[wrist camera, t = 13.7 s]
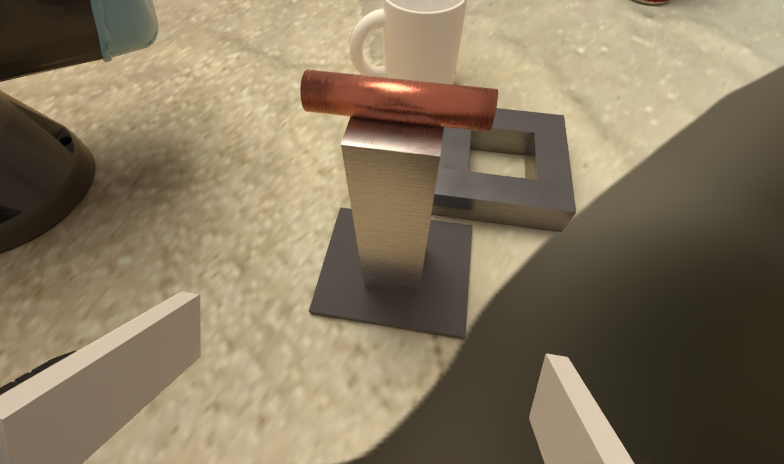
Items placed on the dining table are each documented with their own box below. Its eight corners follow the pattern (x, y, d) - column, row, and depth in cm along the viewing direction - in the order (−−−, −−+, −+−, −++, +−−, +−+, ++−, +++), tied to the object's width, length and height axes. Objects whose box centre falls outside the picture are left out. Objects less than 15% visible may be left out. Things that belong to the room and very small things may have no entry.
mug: (361, 118, 41) (352, 24, 32) (347, 74, 45) (337, -20, 36) (462, 100, 42) (481, 6, 33) (440, 59, 46) (451, -34, 38)
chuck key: (339, 282, 29) (287, 105, 15) (352, 236, 32) (317, 44, 17) (443, 298, 29) (497, 129, 14) (448, 250, 31) (498, 62, 16)
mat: (310, 313, 28) (309, 311, 28) (341, 210, 34) (340, 207, 33) (464, 338, 27) (465, 336, 27) (470, 228, 33) (472, 225, 32)
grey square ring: (427, 213, 33) (430, 193, 31) (440, 125, 40) (443, 102, 37) (561, 231, 32) (576, 212, 30) (552, 138, 39) (563, 115, 36)
